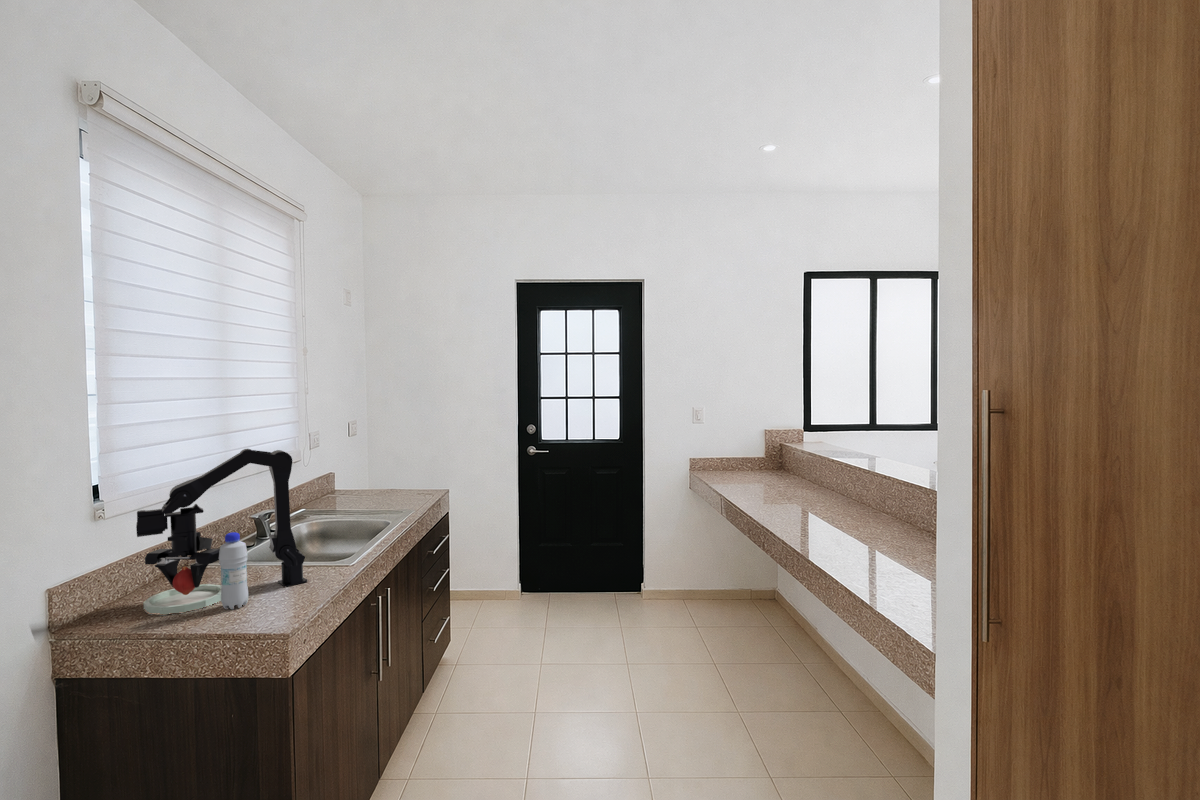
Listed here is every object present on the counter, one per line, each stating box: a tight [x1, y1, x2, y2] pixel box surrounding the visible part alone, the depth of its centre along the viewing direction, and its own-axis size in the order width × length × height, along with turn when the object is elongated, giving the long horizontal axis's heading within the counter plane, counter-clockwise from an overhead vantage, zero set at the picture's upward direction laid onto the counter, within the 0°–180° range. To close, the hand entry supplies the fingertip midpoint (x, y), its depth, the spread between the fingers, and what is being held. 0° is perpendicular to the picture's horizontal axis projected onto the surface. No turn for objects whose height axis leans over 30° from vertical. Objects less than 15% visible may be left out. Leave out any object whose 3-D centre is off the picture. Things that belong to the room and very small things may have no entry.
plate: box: [143, 583, 222, 614], centre depth 167 cm, size 18×18×2 cm
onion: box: [172, 565, 195, 595], centre depth 167 cm, size 6×6×8 cm
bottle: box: [218, 531, 249, 610], centre depth 163 cm, size 7×7×20 cm
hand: (186, 587), depth 167 cm, fingers closed on onion, 6 cm apart
